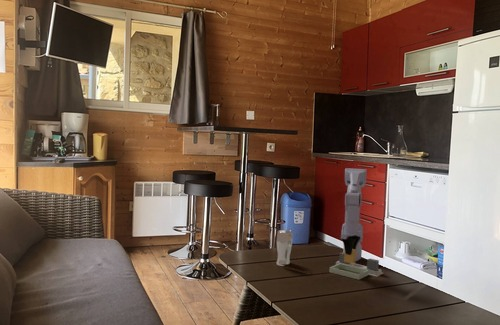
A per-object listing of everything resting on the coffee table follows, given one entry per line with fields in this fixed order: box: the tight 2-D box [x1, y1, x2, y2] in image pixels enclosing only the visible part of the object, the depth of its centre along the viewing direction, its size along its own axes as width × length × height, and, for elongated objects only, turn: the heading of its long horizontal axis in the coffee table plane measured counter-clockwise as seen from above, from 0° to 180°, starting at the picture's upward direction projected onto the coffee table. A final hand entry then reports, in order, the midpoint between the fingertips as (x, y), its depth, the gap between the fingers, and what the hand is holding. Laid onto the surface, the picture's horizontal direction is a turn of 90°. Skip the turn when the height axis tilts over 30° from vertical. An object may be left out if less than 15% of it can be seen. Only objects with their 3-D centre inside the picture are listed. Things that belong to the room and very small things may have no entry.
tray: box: [328, 263, 369, 280], centre depth 174 cm, size 9×13×3 cm
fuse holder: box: [335, 260, 384, 277], centre depth 181 cm, size 7×20×2 cm, turn 51°
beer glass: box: [275, 229, 293, 267], centre depth 185 cm, size 7×7×15 cm
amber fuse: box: [344, 249, 357, 264], centre depth 173 cm, size 2×4×6 cm, turn 51°
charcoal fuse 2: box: [366, 258, 380, 271], centre depth 176 cm, size 2×4×6 cm, turn 51°
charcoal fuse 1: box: [338, 251, 350, 264], centre depth 185 cm, size 2×4×6 cm, turn 50°
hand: (349, 253), depth 173 cm, fingers closed on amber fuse, 2 cm apart
